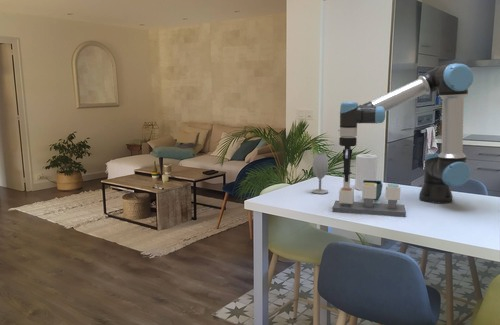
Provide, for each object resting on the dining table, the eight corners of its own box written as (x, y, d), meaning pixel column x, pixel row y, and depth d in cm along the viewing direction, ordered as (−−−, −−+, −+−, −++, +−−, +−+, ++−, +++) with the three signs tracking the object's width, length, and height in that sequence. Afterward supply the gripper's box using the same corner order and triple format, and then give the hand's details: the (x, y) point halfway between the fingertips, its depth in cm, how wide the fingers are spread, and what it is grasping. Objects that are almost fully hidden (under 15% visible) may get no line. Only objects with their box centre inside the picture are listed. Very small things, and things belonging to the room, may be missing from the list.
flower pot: (382, 202, 207) (382, 184, 206) (363, 201, 209) (363, 183, 208) (380, 198, 216) (381, 180, 214) (362, 197, 218) (362, 180, 216)
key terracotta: (353, 200, 198) (353, 187, 197) (352, 203, 193) (353, 190, 192) (340, 199, 200) (340, 187, 199) (339, 202, 194) (339, 189, 193)
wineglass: (330, 191, 230) (331, 153, 227) (324, 195, 223) (325, 155, 219) (315, 189, 235) (316, 152, 231) (309, 193, 228) (309, 154, 224)
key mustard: (376, 195, 195) (376, 182, 194) (375, 198, 189) (376, 185, 188) (362, 194, 197) (363, 181, 196) (361, 198, 191) (362, 184, 190)
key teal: (399, 197, 192) (400, 183, 191) (399, 200, 186) (400, 186, 185) (385, 196, 194) (385, 183, 193) (385, 199, 188) (386, 185, 187)
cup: (354, 186, 243) (355, 154, 239) (374, 186, 241) (375, 154, 238) (356, 190, 232) (357, 157, 229) (377, 191, 230) (378, 157, 227)
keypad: (404, 208, 196) (405, 194, 194) (405, 217, 183) (406, 201, 182) (335, 204, 205) (335, 190, 203) (332, 211, 192) (332, 196, 191)
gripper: (340, 135, 199) (339, 184, 203) (338, 138, 186) (336, 191, 190) (357, 135, 196) (355, 185, 200) (355, 138, 184) (354, 192, 188)
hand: (346, 188), depth 195 cm, fingers closed
